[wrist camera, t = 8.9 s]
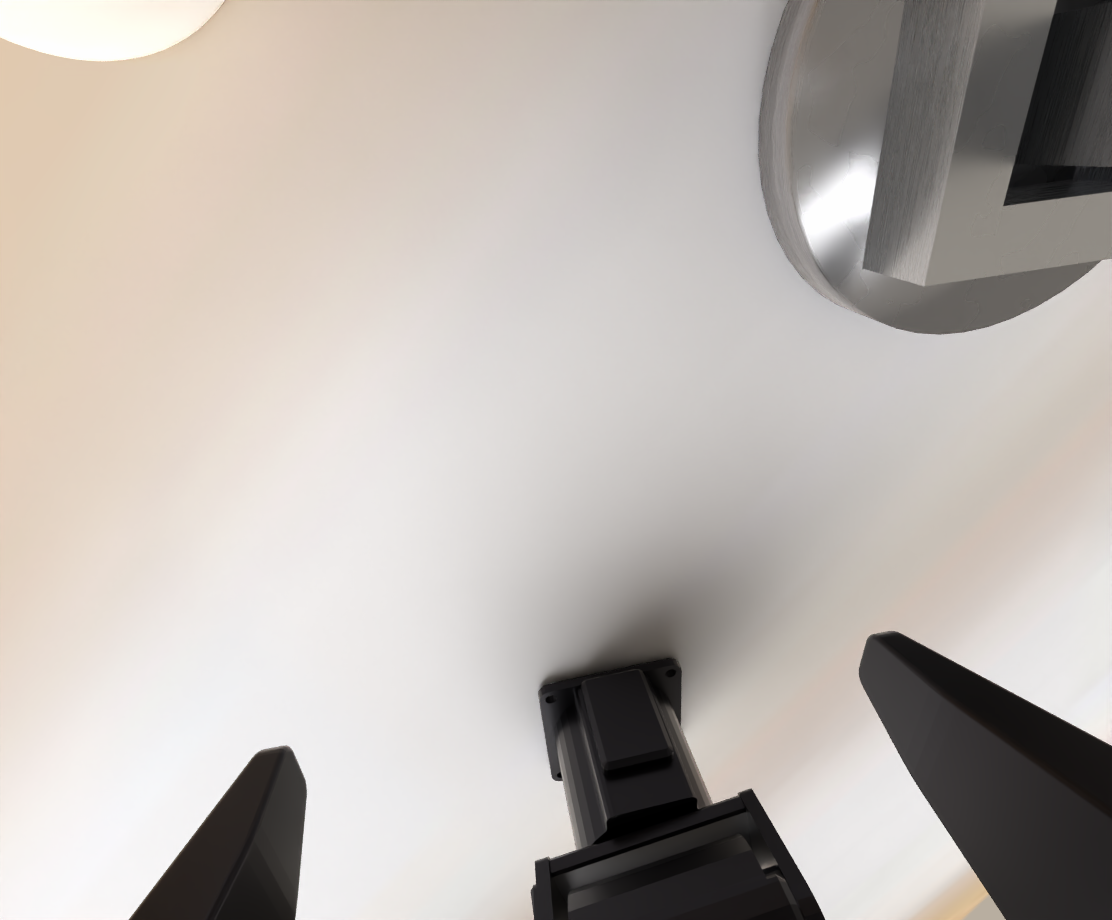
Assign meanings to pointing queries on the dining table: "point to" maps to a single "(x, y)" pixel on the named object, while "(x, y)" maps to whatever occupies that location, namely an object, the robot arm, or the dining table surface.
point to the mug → (102, 26)
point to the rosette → (922, 161)
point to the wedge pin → (1072, 93)
